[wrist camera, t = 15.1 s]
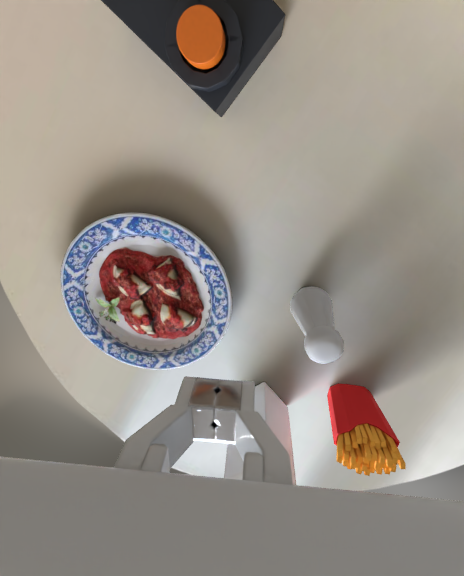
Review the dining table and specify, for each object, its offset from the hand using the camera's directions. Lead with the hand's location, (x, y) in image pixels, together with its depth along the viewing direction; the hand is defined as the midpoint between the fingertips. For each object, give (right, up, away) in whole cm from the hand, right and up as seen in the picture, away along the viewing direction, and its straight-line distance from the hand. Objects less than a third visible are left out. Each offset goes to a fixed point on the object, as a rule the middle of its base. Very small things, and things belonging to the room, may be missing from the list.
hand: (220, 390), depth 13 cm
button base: (-3, +32, +20) cm, 38 cm away
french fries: (+20, -14, +39) cm, 46 cm away
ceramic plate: (-12, +3, +34) cm, 36 cm away
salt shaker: (+12, +3, +32) cm, 34 cm away
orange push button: (-2, +27, +15) cm, 30 cm away
